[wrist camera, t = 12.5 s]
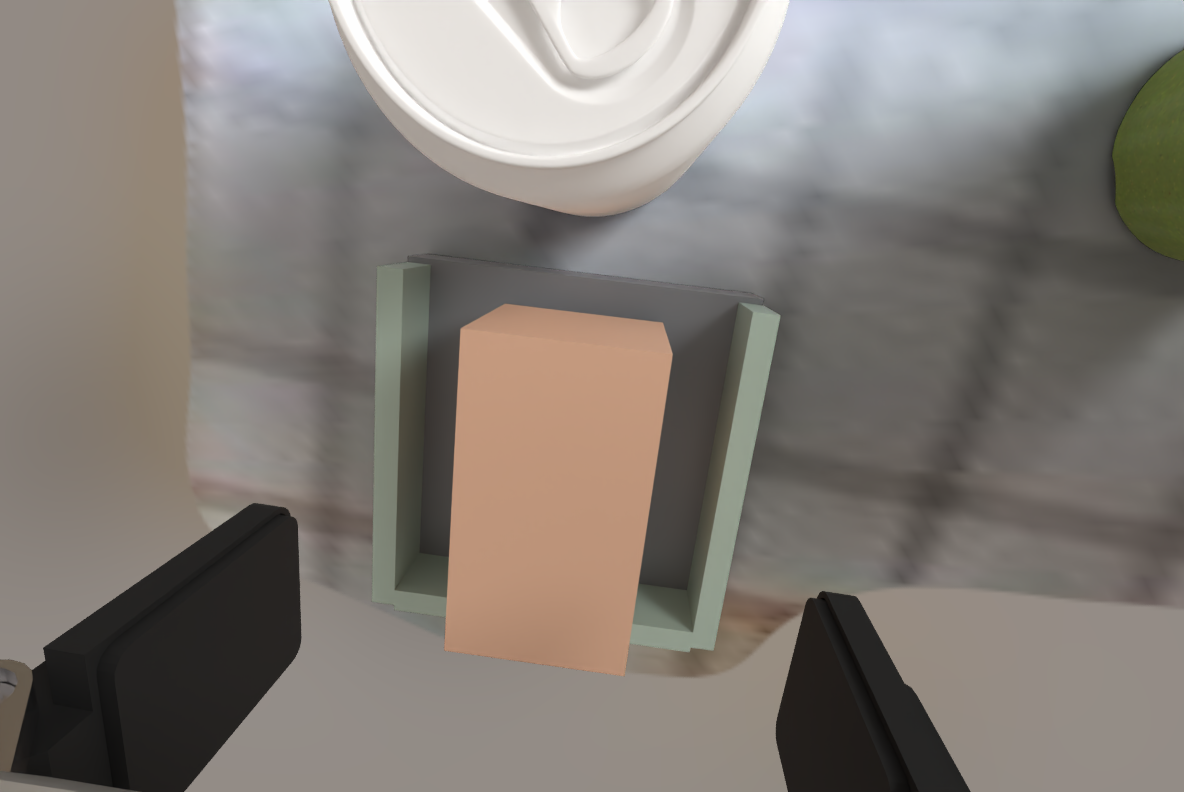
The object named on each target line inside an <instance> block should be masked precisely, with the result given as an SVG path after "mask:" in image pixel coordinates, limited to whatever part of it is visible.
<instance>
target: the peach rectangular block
mask: <svg viewBox="0 0 1184 792" xmlns="http://www.w3.org/2000/svg"><path fill="white" fill-rule="evenodd" d="M672 356H673V353H672V350H671V347H670V344H669V340H668V337H667V334H666V331H665V328H664V324H663V322H657V321H649V320H641V319H632V318H631V319H629V318H620V317H612V316H604V315H595V314H587V313H579V312H570V311H562V310H554V309H545V308H538V307H533V306H524V305H516V304H508V303H506V304H504V305H502V306H500V307H498V308H496V309H495V310H493V311H491V312H489V313H487V314H486V315H484V316H482V317H480V318H478V319H477V320H475V321H473V322H471V323H469V324H468V325H466V326H464V327H462V328H461V330H460V350H459V369H458V389H457V409H456V429H455V448H454V468H453V488H452V507H451V527H450V547H449V567H448V586H447V606H446V626H445V646H444V650H445V651H450V652H457V653H465V654H471V655H478V656H486V657H493V658H500V659H507V660H514V661H521V662H528V663H535V664H542V665H549V666H556V667H563V668H570V669H577V670H584V671H591V672H599V673H605V674H612V675H619V676H625V669H626V663H627V656H628V649H629V643H630V636H631V629H632V623H633V616H634V609H635V603H636V596H637V589H638V583H639V576H640V570H641V563H642V556H643V550H644V543H645V536H646V530H647V523H648V516H649V510H650V503H651V496H652V490H653V483H654V476H655V470H656V463H657V456H658V450H659V443H660V436H661V430H662V423H663V416H664V410H665V403H666V396H667V390H668V383H669V376H670V370H671V363H672Z"/></svg>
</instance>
